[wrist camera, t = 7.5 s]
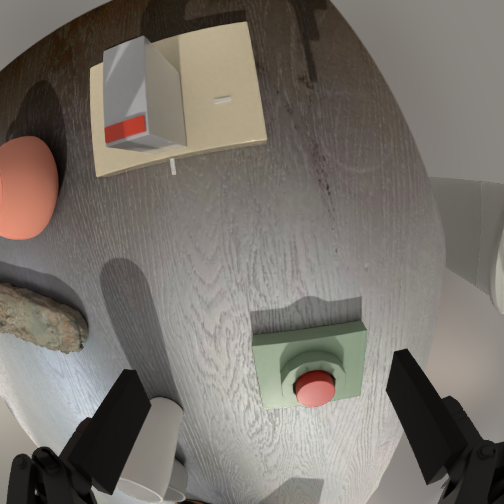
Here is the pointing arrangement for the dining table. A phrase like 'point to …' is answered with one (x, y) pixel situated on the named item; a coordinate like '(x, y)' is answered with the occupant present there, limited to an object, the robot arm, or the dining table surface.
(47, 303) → the long grey stone
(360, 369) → the button box
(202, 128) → the base
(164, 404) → the drinking glass
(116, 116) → the tap handle
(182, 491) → the teacup
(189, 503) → the skull
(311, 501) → the dining table surface
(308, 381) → the button
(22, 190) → the sugar bowl
